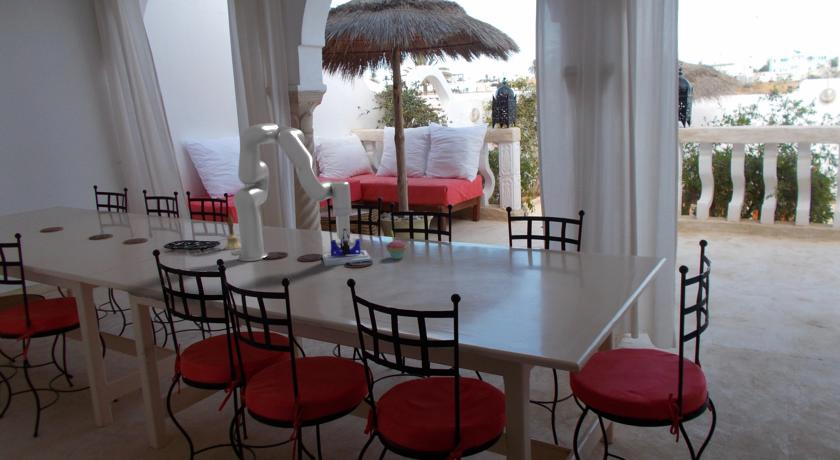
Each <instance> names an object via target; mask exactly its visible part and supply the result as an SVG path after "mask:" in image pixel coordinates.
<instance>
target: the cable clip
mask: <svg viewBox="0 0 840 460" xmlns="http://www.w3.org/2000/svg"><path fill="white" fill-rule="evenodd" d="M354 243H355V244H354V246H353V247H351V248H350V255H354V254H360V253H361V249H362V248H361V247H362V246H361V239H360V238H356V239H355V242H354ZM356 251H359V252H356ZM330 254H331V256H346V255H342V249H341V246H340V247H339V245H338V244H337V241H336V239H331V240H330Z"/></svg>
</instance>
